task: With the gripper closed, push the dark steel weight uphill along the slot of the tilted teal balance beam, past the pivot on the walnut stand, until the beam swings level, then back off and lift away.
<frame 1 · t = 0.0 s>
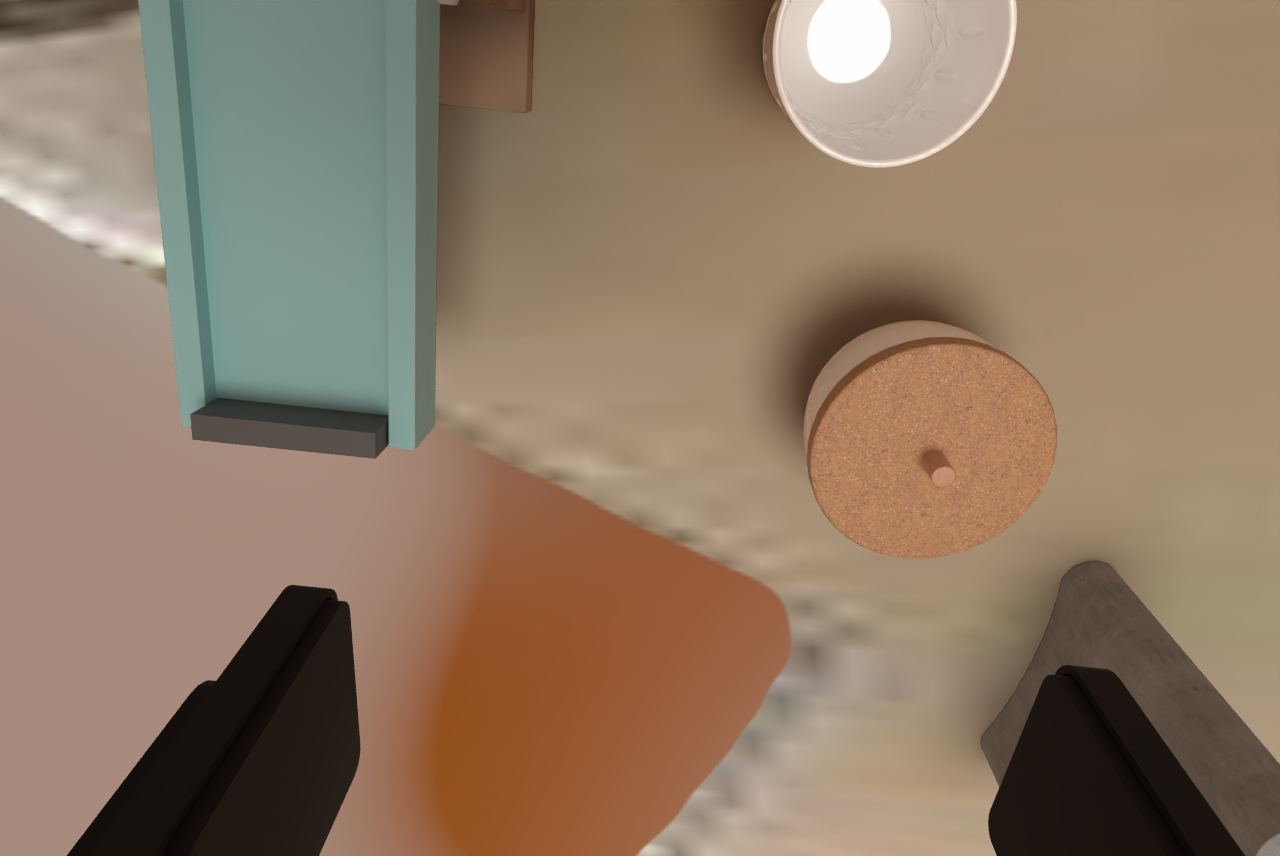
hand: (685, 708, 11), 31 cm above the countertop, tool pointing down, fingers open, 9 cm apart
lidded jar: (889, 390, 42), on the countertop
hip flask: (1050, 664, 49), on the countertop
white cup: (837, 46, 35), on the countertop
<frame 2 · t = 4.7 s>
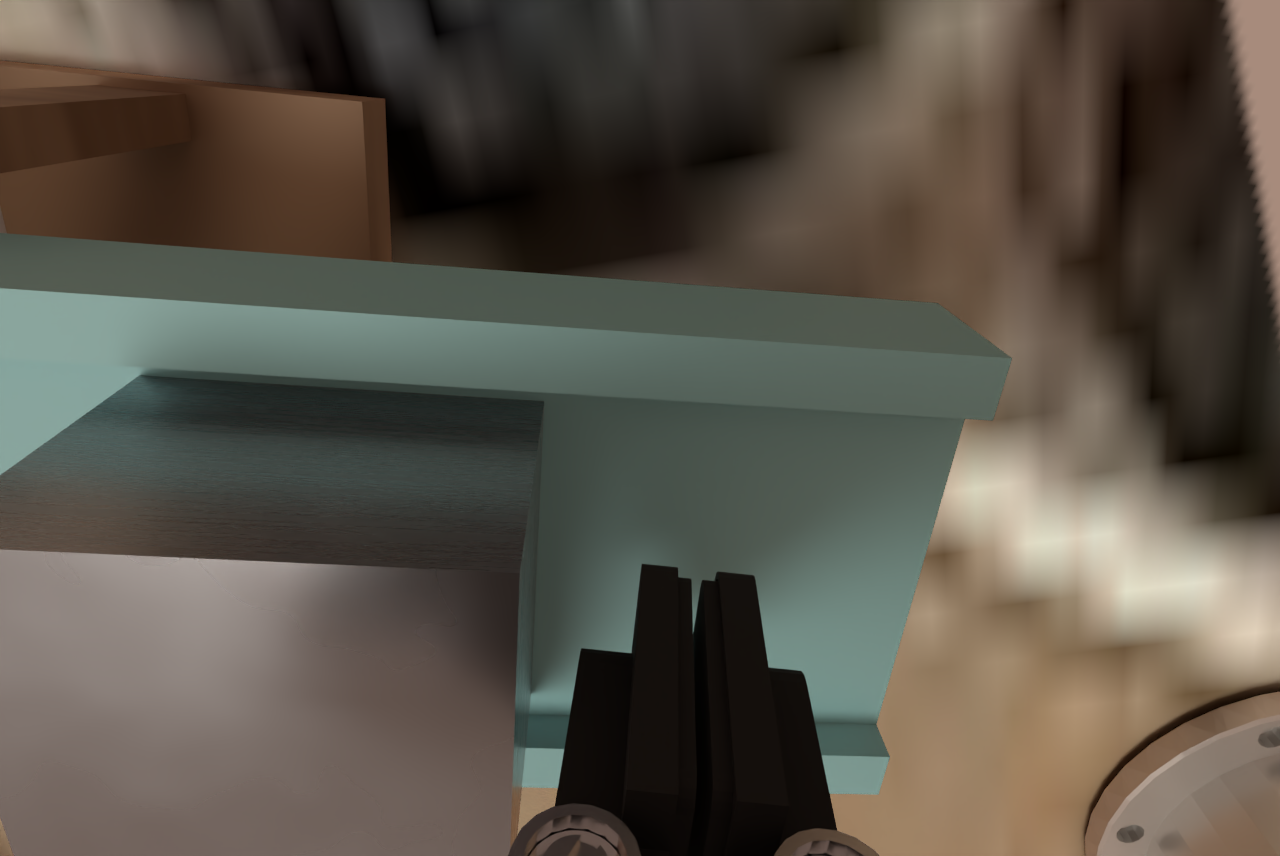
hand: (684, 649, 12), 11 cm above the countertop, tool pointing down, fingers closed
stand: (215, 335, 22), on the countertop
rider: (357, 552, 13), point 9 cm above the countertop, tilted 6°, touching beam
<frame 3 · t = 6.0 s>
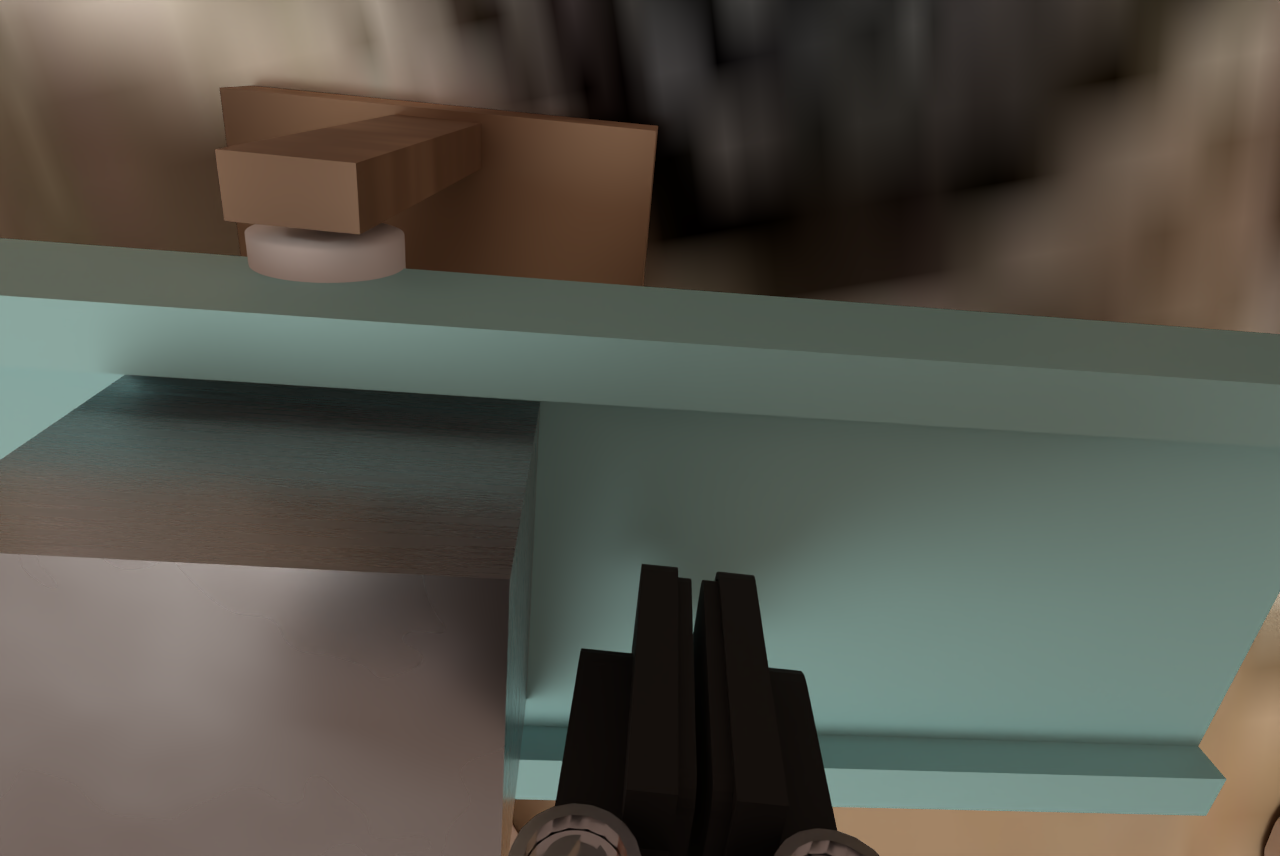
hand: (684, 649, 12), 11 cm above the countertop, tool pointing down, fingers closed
beam: (324, 541, 14), point 9 cm above the countertop, hinge at -5.4°
stand: (457, 355, 22), on the countertop
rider: (349, 555, 13), point 10 cm above the countertop, tilted 5°, touching gripper
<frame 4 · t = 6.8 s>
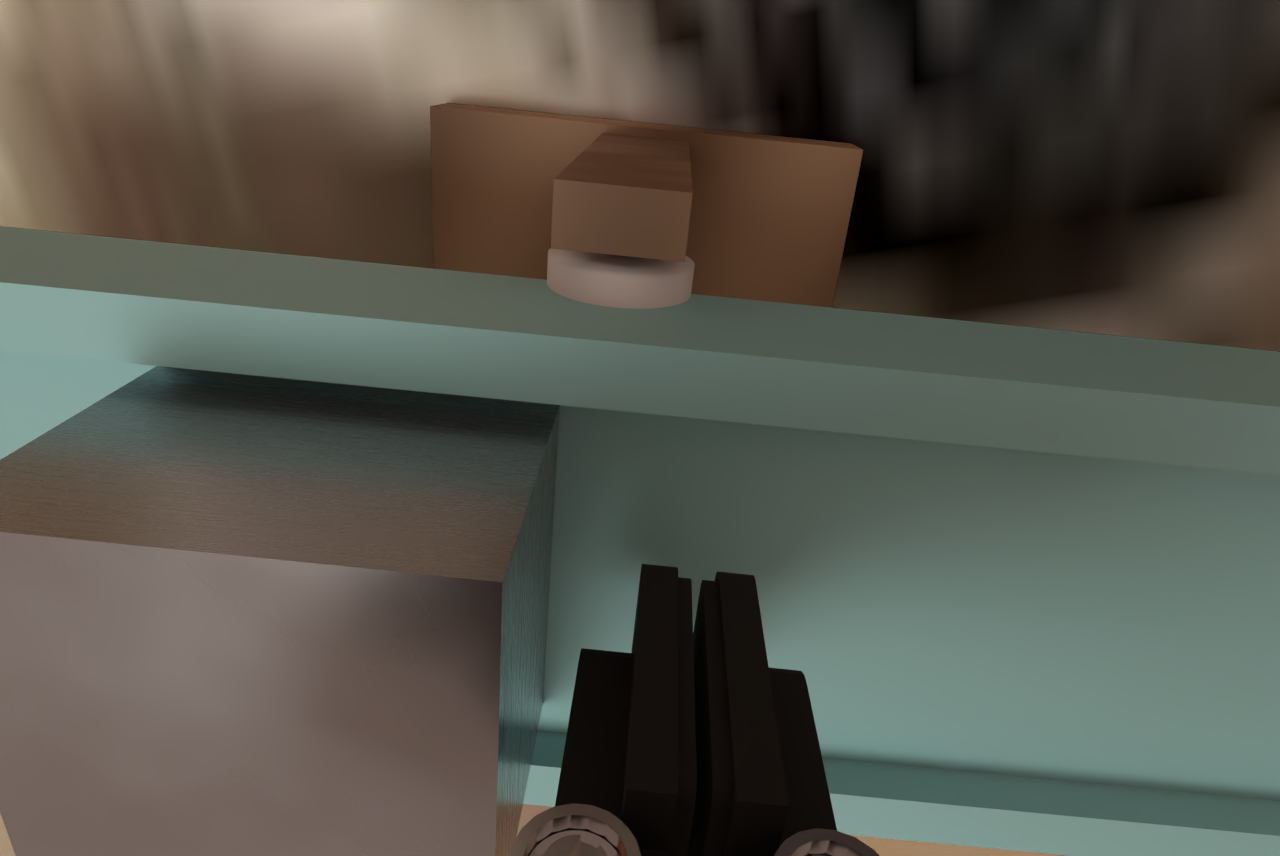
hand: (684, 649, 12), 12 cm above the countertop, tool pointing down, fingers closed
beam: (594, 559, 14), point 9 cm above the countertop, hinge at -0.7°
white cup: (559, 840, 31), on the countertop
stand: (627, 368, 22), on the countertop
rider: (371, 549, 13), point 10 cm above the countertop, touching gripper
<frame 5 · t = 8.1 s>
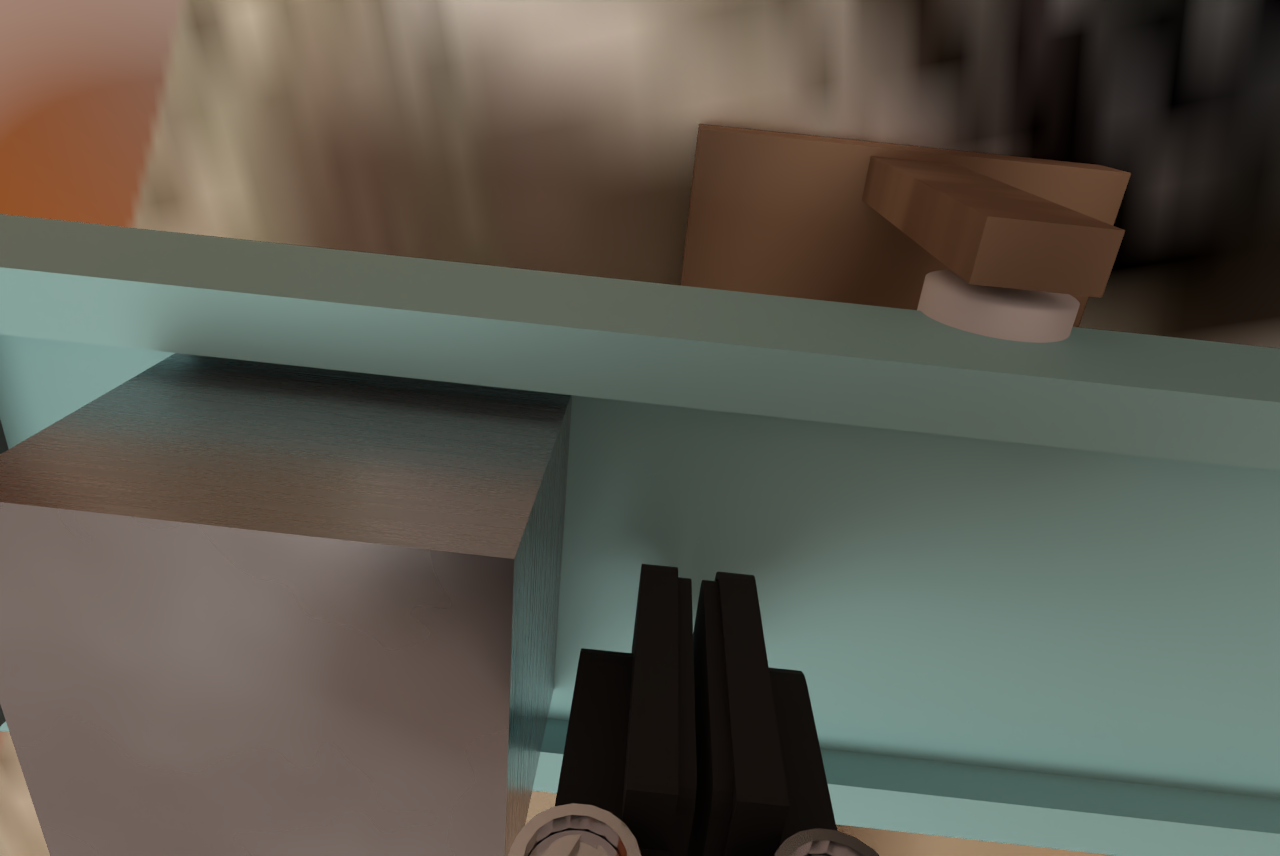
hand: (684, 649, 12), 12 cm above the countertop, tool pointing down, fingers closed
beam: (947, 587, 14), point 9 cm above the countertop, hinge at 0.6°, touching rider
stand: (846, 386, 22), on the countertop
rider: (385, 534, 13), point 10 cm above the countertop, touching beam
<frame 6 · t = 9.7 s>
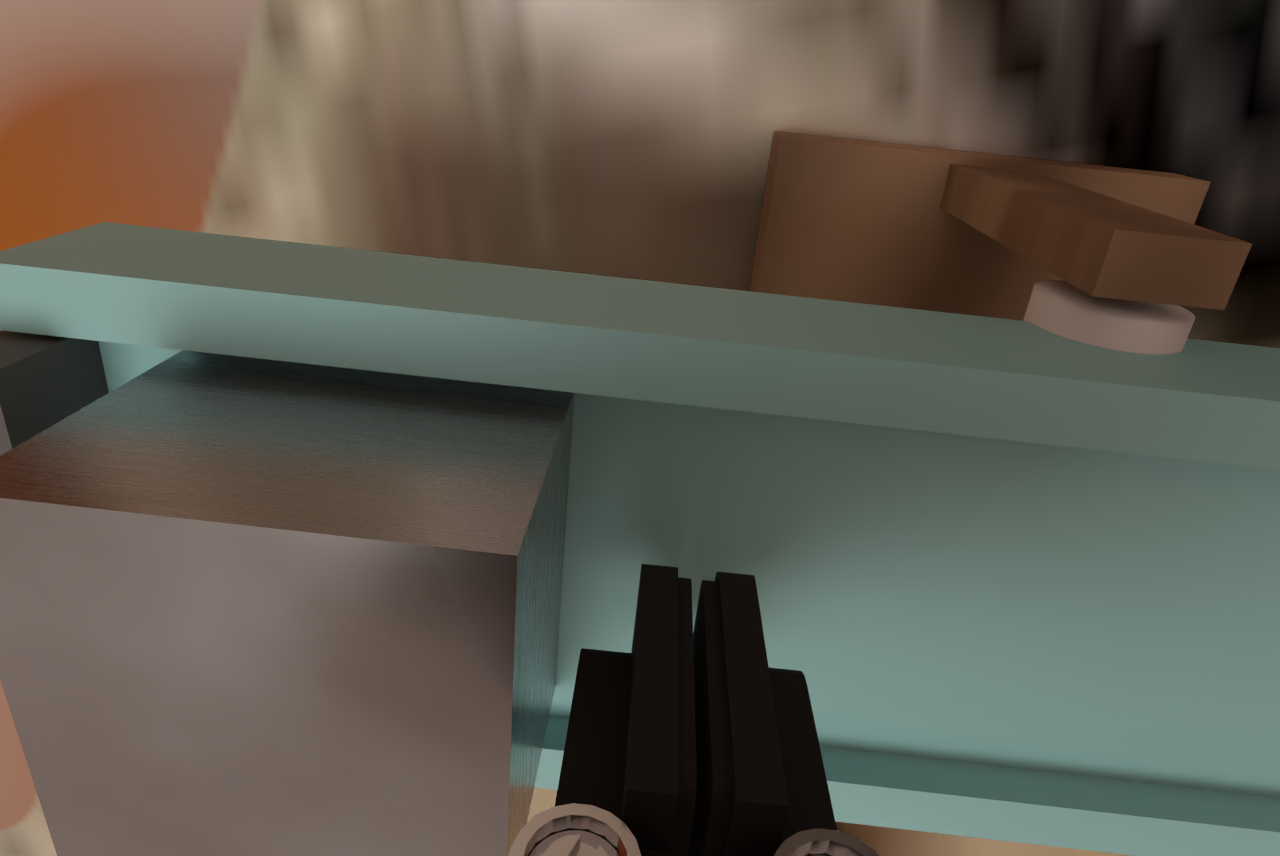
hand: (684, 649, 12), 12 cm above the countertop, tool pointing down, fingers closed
beam: (1051, 596, 14), point 9 cm above the countertop, hinge at 0.7°, touching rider
stand: (911, 392, 23), on the countertop
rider: (388, 532, 14), point 10 cm above the countertop, touching beam, gripper
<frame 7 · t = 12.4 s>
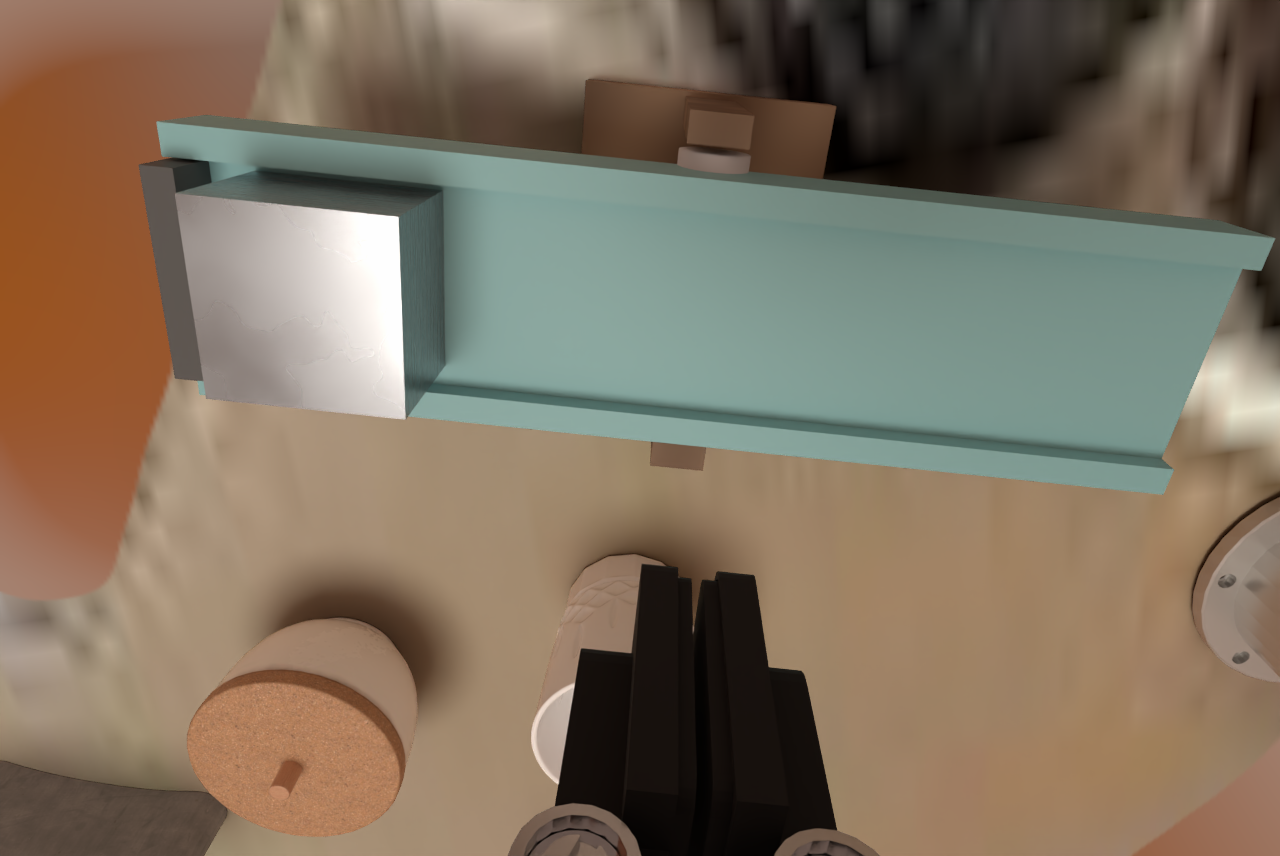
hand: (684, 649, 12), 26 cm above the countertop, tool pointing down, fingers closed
beam: (696, 309, 27), point 9 cm above the countertop, hinge at 0.6°, touching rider
lidded jar: (350, 656, 47), on the countertop
hip flask: (108, 795, 53), on the countertop
white cup: (629, 600, 45), on the countertop
stand: (690, 247, 36), on the countertop
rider: (355, 272, 27), point 10 cm above the countertop, touching beam
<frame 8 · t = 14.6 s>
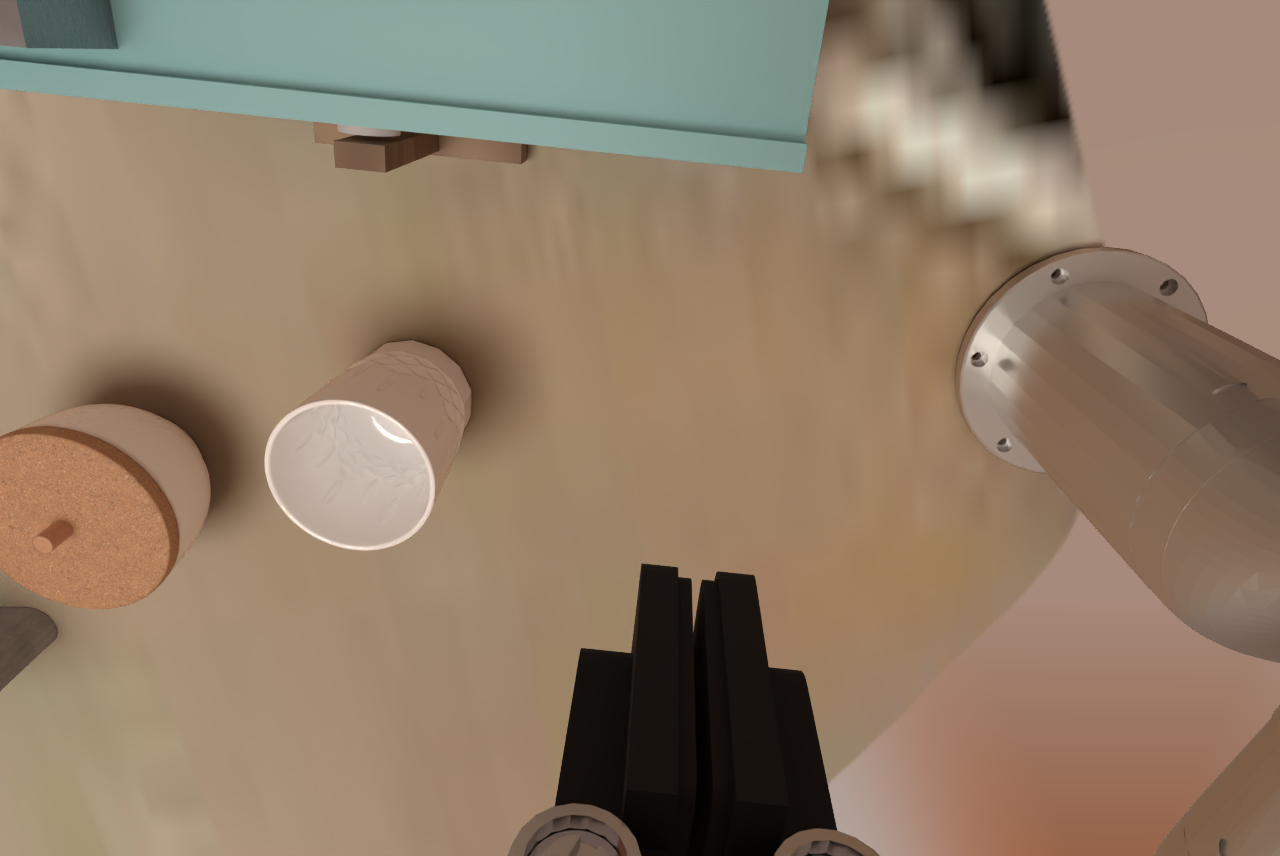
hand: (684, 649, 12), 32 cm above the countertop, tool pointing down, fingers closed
lidded jar: (156, 457, 48), on the countertop
white cup: (415, 393, 46), on the countertop
stand: (424, 3, 37), on the countertop
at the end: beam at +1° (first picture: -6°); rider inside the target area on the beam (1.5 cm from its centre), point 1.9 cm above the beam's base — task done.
